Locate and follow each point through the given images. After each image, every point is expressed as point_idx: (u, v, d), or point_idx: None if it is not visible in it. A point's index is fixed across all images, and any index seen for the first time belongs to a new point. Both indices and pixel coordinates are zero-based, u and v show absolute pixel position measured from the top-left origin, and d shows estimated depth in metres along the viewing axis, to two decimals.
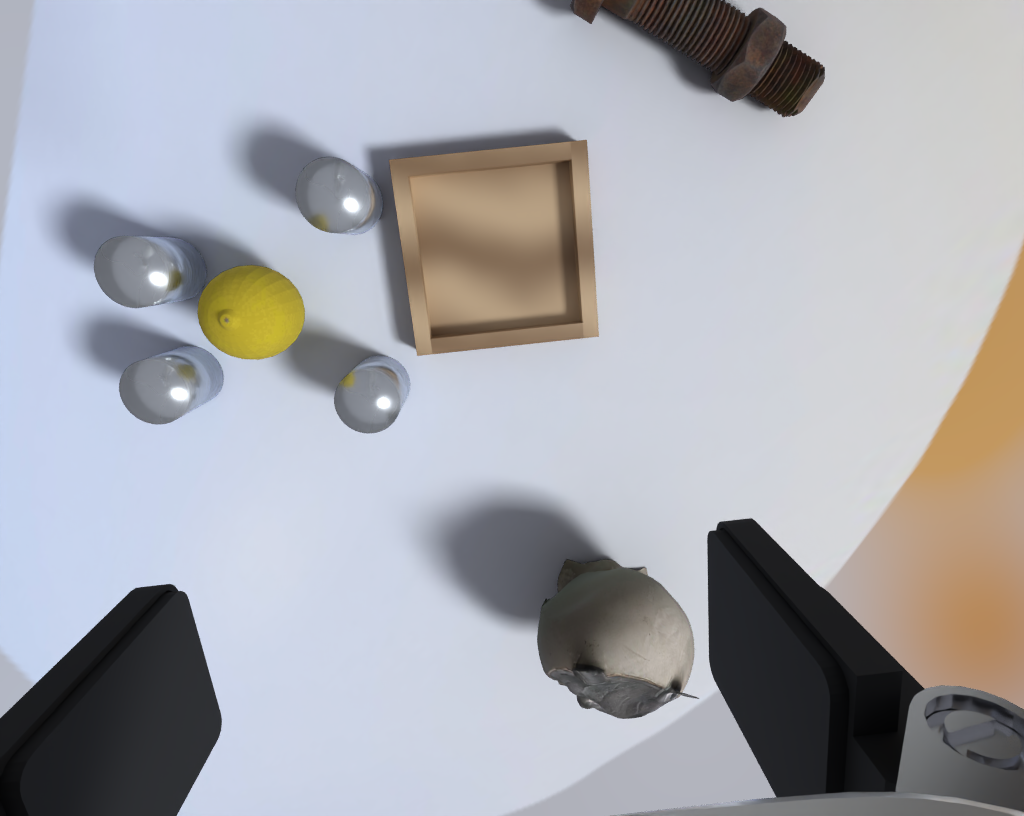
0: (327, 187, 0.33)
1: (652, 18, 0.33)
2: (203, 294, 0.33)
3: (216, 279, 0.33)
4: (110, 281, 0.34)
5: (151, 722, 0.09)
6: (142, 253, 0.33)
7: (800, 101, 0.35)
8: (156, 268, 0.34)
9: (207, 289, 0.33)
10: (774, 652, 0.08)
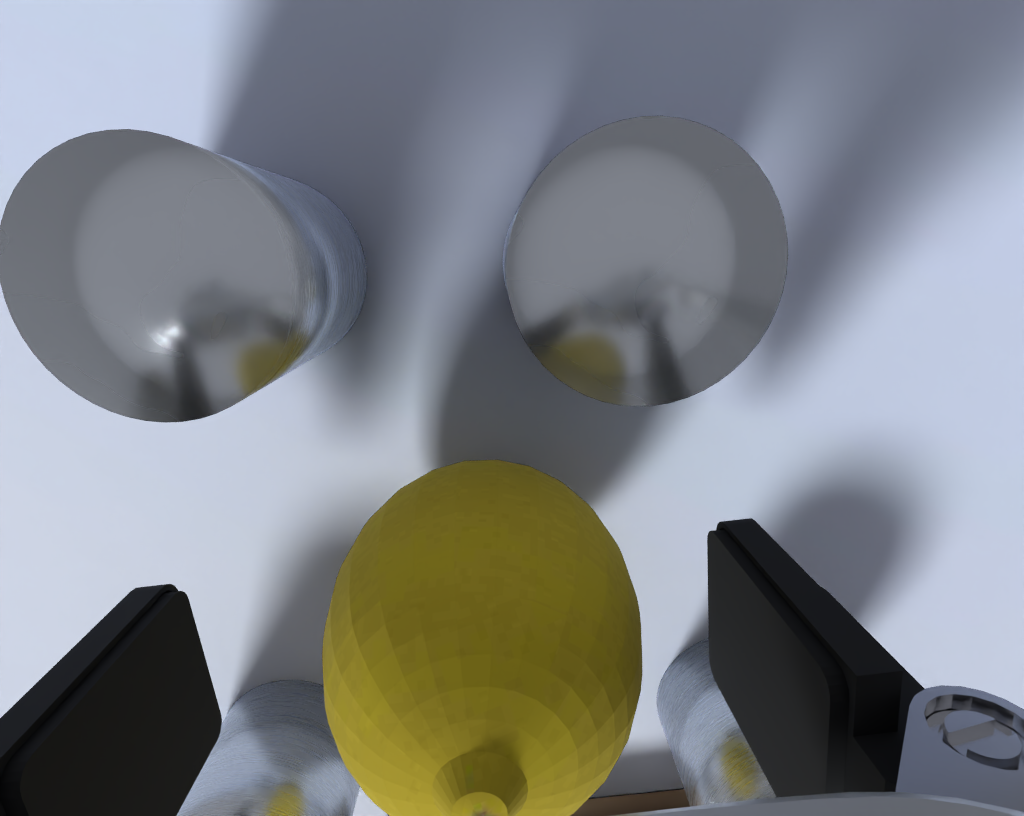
0: None
1: None
2: (573, 616, 0.08)
3: (623, 641, 0.09)
4: (616, 179, 0.08)
5: (151, 722, 0.09)
6: (715, 327, 0.09)
7: None
8: (656, 371, 0.09)
9: (592, 633, 0.08)
10: (774, 652, 0.08)
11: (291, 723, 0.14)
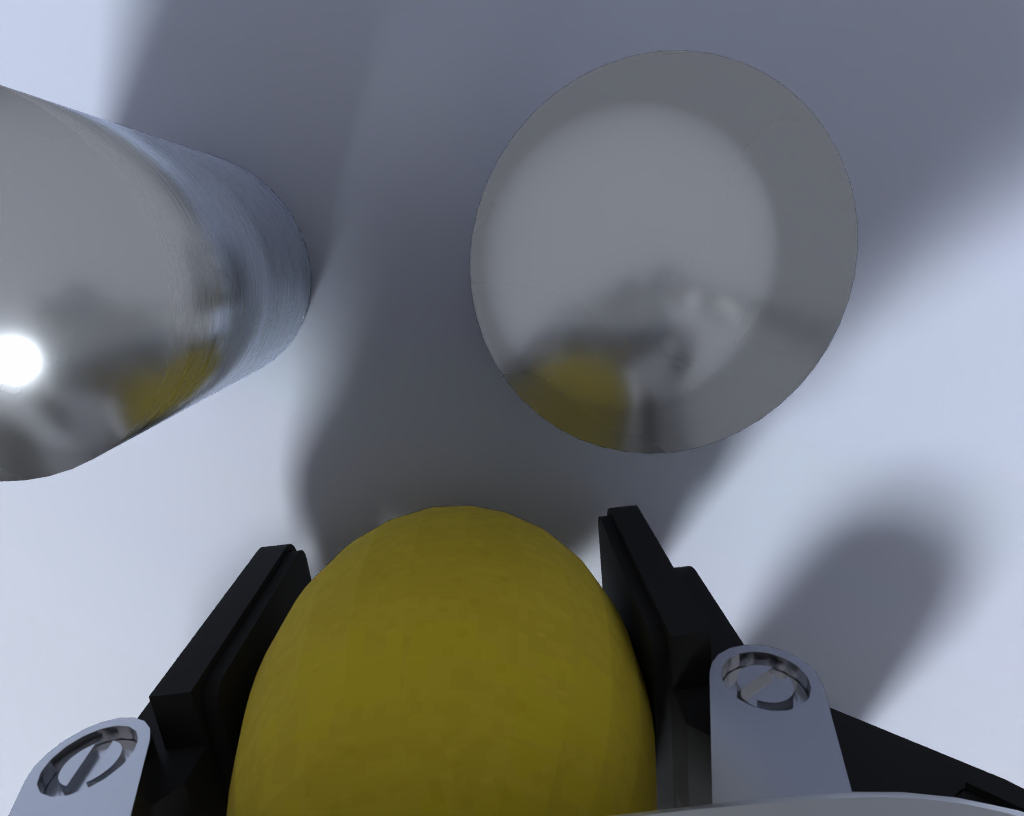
0: None
1: None
2: (567, 756, 0.06)
3: (635, 777, 0.06)
4: (622, 142, 0.06)
5: None
6: (757, 347, 0.06)
7: None
8: (676, 407, 0.06)
9: (594, 777, 0.06)
10: (630, 621, 0.09)
11: None
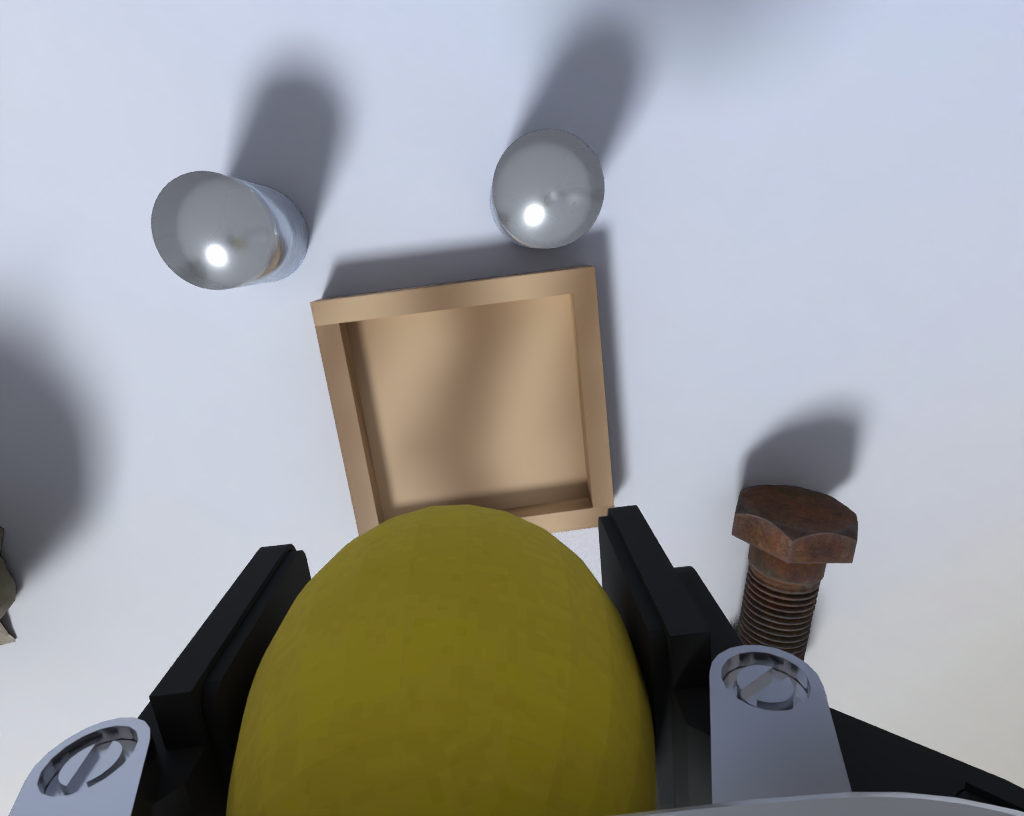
0: (560, 183, 0.21)
1: (763, 598, 0.28)
2: (566, 754, 0.06)
3: (635, 775, 0.06)
4: None
5: None
6: None
7: None
8: None
9: (593, 776, 0.06)
10: (630, 622, 0.09)
11: (255, 184, 0.24)
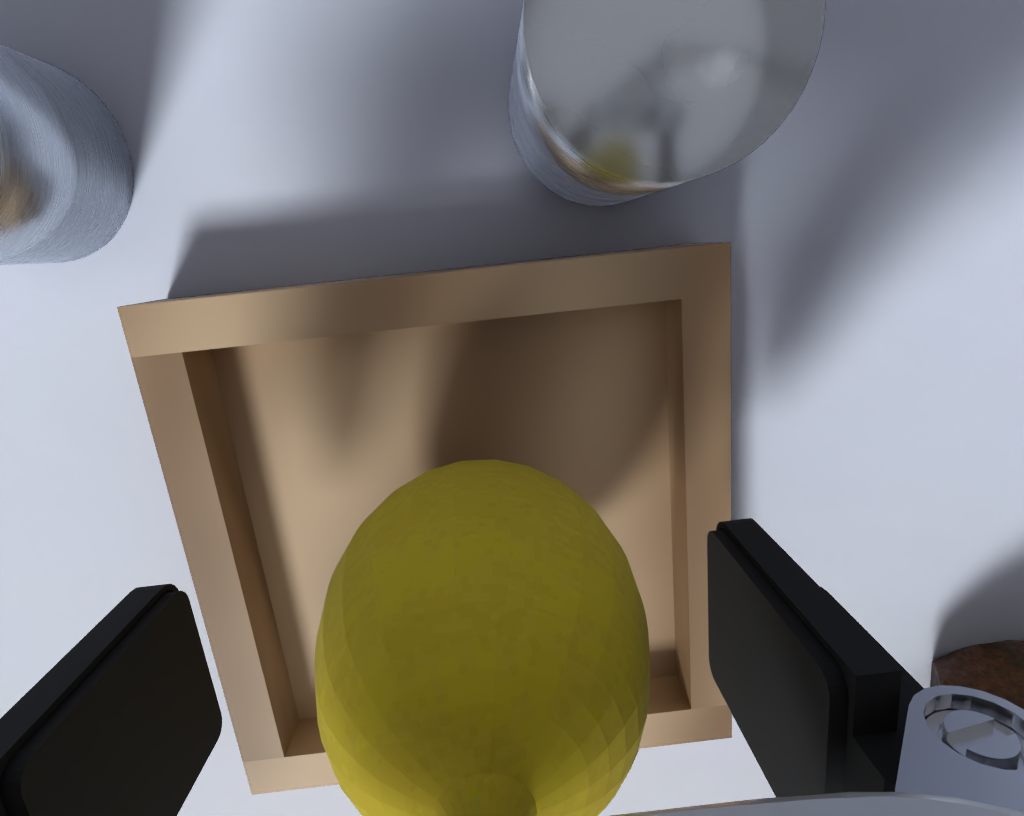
0: (709, 1, 0.08)
1: None
2: (581, 624, 0.08)
3: (632, 649, 0.08)
4: None
5: (151, 722, 0.09)
6: None
7: None
8: None
9: (601, 642, 0.08)
10: (774, 652, 0.08)
11: None
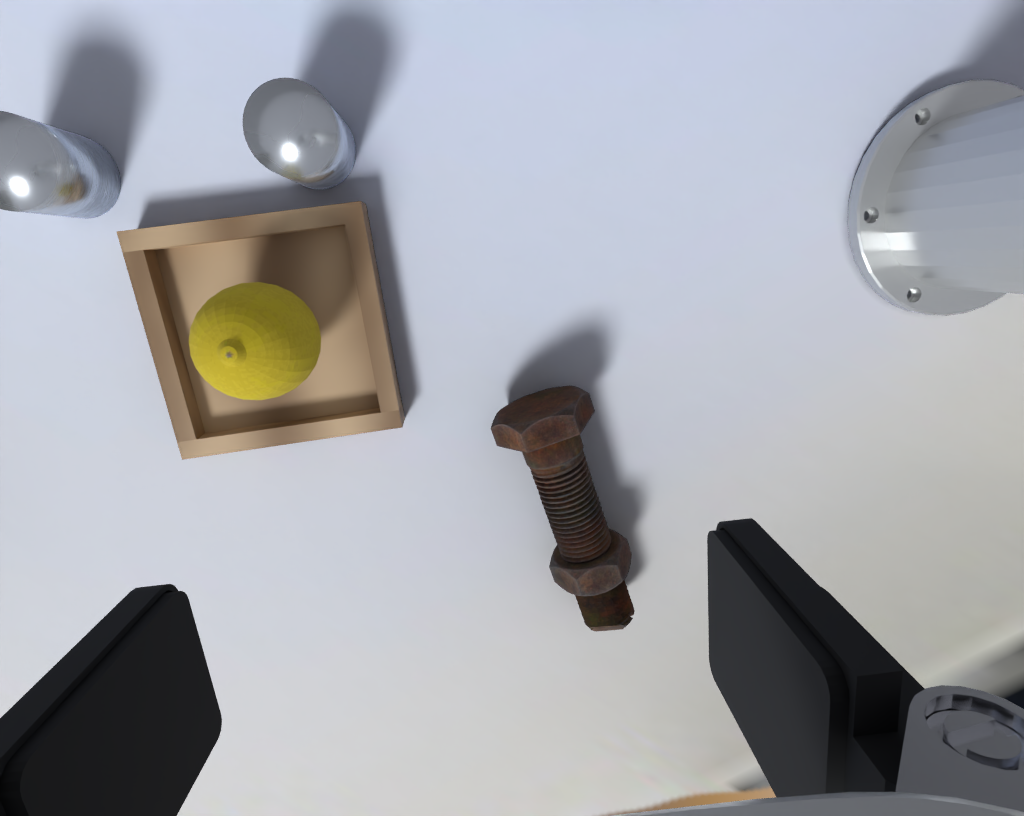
0: (299, 122, 0.26)
1: (542, 487, 0.33)
2: (265, 308, 0.26)
3: (288, 322, 0.26)
4: None
5: (151, 722, 0.09)
6: None
7: (598, 626, 0.36)
8: None
9: (272, 314, 0.26)
10: (774, 652, 0.08)
11: None
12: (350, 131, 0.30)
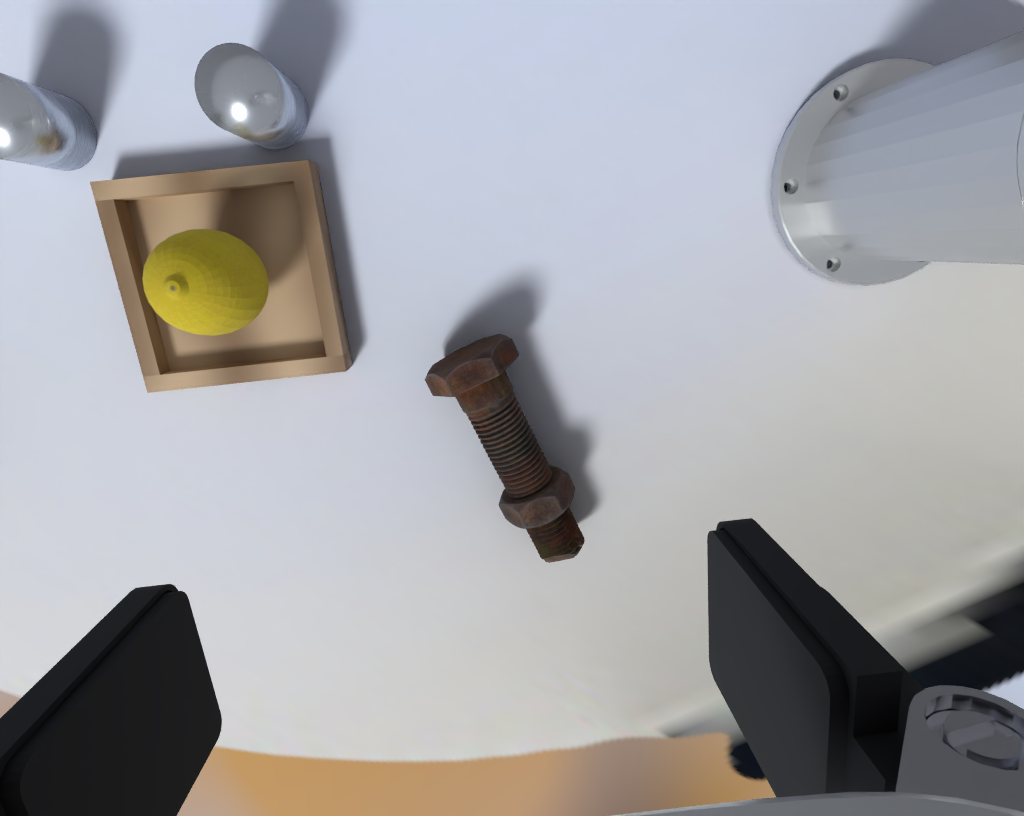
0: (245, 84, 0.29)
1: (477, 430, 0.36)
2: (209, 250, 0.29)
3: (230, 263, 0.29)
4: None
5: (151, 722, 0.09)
6: None
7: (550, 557, 0.39)
8: None
9: (215, 255, 0.29)
10: (774, 652, 0.08)
11: None
12: (302, 96, 0.33)
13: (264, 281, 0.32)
